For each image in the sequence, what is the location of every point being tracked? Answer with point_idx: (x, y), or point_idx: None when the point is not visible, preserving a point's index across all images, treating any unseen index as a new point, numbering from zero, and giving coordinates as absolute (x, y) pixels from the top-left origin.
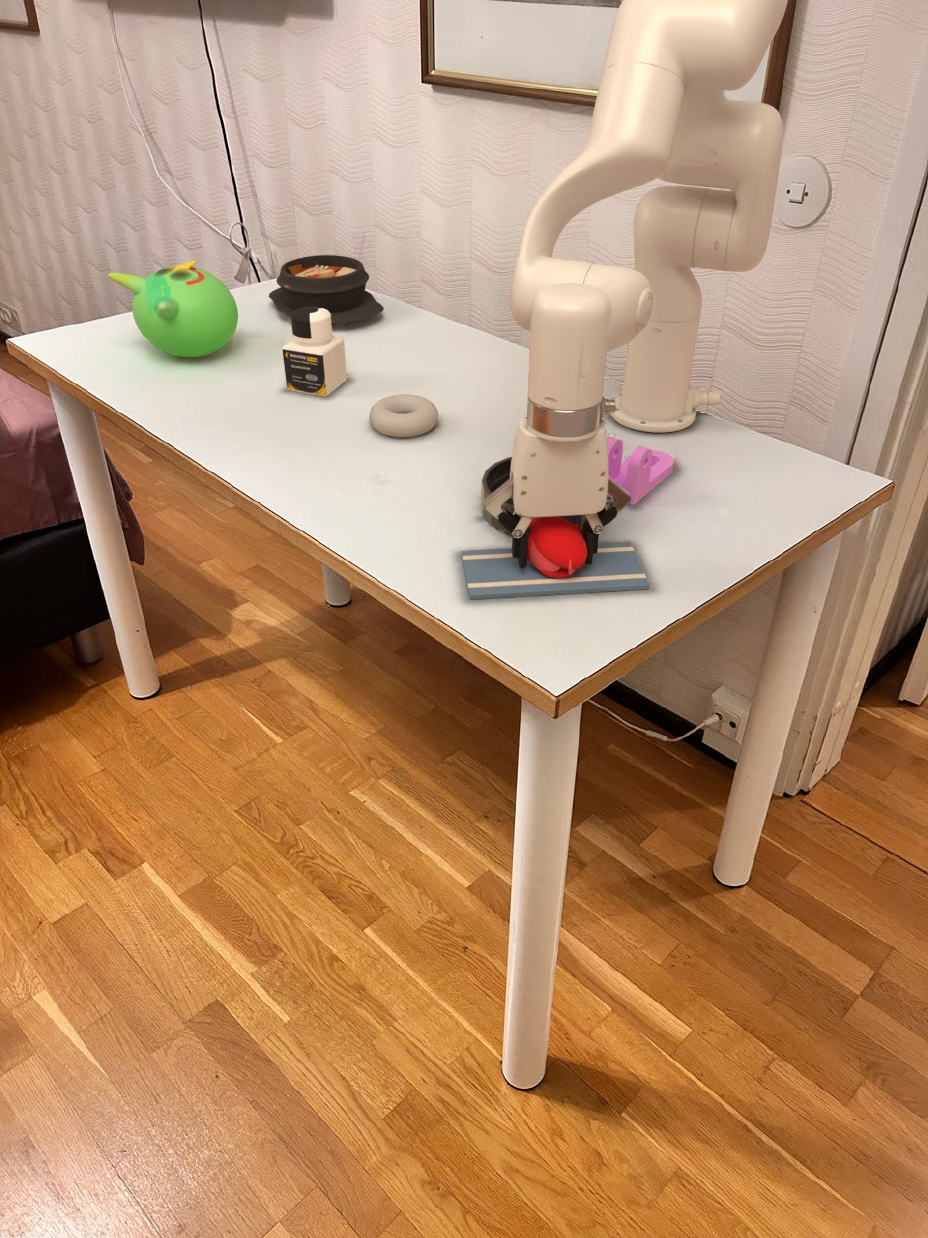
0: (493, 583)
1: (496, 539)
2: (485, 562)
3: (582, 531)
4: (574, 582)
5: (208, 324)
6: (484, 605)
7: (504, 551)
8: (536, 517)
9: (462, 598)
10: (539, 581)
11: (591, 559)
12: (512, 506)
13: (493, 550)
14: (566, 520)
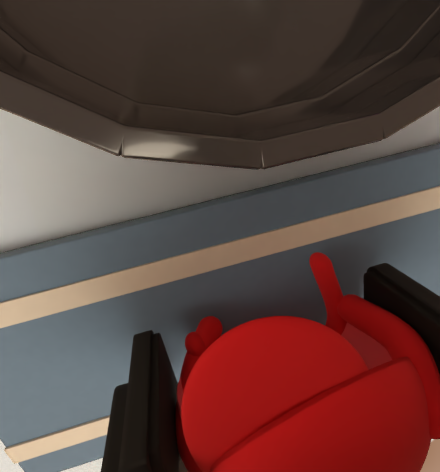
0: (87, 430)
1: (15, 135)
2: (24, 337)
3: (430, 328)
4: None
5: None
6: (84, 468)
7: (78, 261)
8: (232, 404)
9: (13, 464)
10: None
11: None
12: (10, 101)
13: (30, 261)
14: (413, 450)
